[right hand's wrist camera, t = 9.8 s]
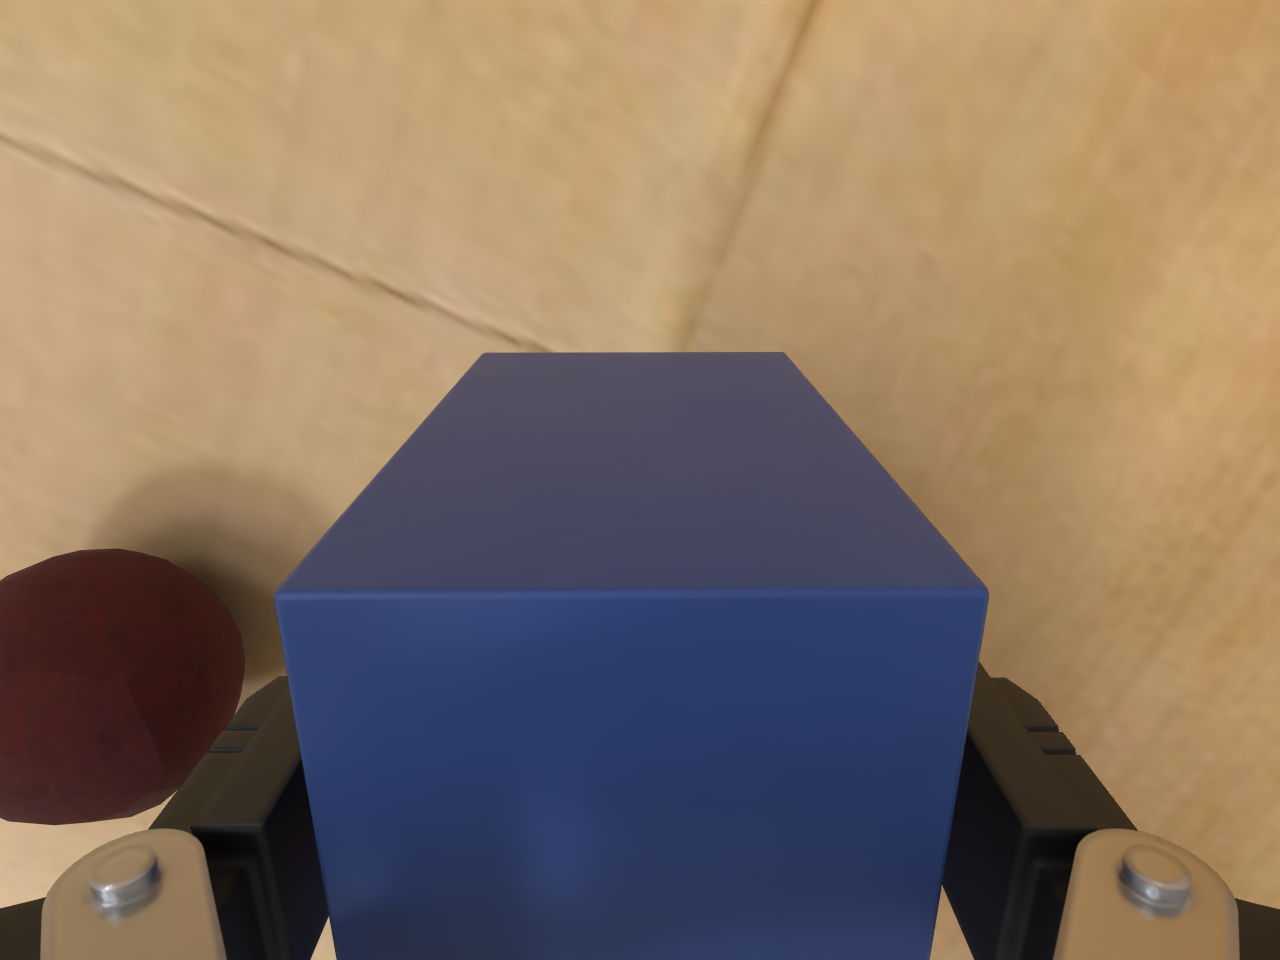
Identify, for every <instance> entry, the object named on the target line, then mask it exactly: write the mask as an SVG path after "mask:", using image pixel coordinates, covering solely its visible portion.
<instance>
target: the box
mask: <svg viewBox="0 0 1280 960" xmlns="http://www.w3.org/2000/svg"><path fill="white" fill-rule="evenodd" d="M988 600H989V593H988V589H987V587H986V586H985V585H984V584H983V582H982V581H981V580H980V579H979V578H978V577H977V575H976V574H975V573H974V572H973V571H972V570H971V568H970V567H969V566H968V565H967V564H966V563H965V562H964V560H963V559H962V558H961V557H960V556H959V555H958V553H957V552H956V551H955V550H954V549H953V548H952V546H951V545H950V544H949V543H948V542H947V541H946V540H945V538H944V537H943V536H942V535H941V534H940V533H939V531H938V530H937V529H936V528H935V527H934V526H933V524H932V523H931V522H930V521H929V520H928V519H927V517H926V516H925V515H924V514H923V513H922V512H921V511H920V509H919V508H918V507H917V506H916V505H915V504H914V502H913V501H912V500H911V499H910V498H909V497H908V495H907V494H906V493H905V492H904V491H903V490H902V489H901V487H900V486H899V485H898V484H897V483H896V482H895V480H894V479H893V478H892V477H891V476H890V475H889V473H888V472H887V471H886V470H885V469H884V468H883V466H882V465H881V464H880V463H879V462H878V461H877V460H876V458H875V457H874V456H873V455H872V454H871V453H870V451H869V450H868V449H867V448H866V447H865V446H864V444H863V443H862V442H861V441H860V440H859V439H858V437H857V436H856V435H855V434H854V433H853V432H852V431H851V429H850V428H849V427H848V426H847V425H846V424H845V422H844V421H843V420H842V419H841V418H840V417H839V415H838V414H837V413H836V412H835V411H834V410H833V409H832V407H831V406H830V405H829V404H828V403H827V402H826V400H825V399H824V398H823V397H822V396H821V395H820V393H819V392H818V391H817V390H816V389H815V388H814V386H813V385H812V384H811V383H810V382H809V381H808V380H807V378H806V377H805V376H804V375H803V374H802V373H801V371H800V370H799V369H798V368H797V367H796V366H795V364H794V363H793V362H792V361H791V360H790V359H789V358H788V356H787V355H786V354H785V353H783V352H666V353H484V354H482V355H481V356H480V357H479V358H478V360H477V361H476V362H475V363H474V364H473V365H472V366H471V368H470V369H469V370H468V371H467V372H466V373H465V374H464V376H463V377H462V378H461V379H460V380H459V381H458V382H457V384H456V385H455V386H454V387H453V388H452V389H451V390H450V392H449V393H448V394H447V395H446V396H445V397H444V398H443V400H442V401H441V402H440V403H439V404H438V405H437V406H436V408H435V409H434V410H433V411H432V412H431V413H430V414H429V416H428V417H427V418H426V419H425V420H424V421H423V422H422V424H421V425H420V426H419V427H418V428H417V429H416V431H415V432H414V433H413V434H412V435H411V436H410V437H409V439H408V440H407V441H406V442H405V443H404V444H403V445H402V447H401V448H400V449H399V450H398V451H397V452H396V453H395V455H394V456H393V457H392V458H391V459H390V460H389V461H388V463H387V464H386V465H385V466H384V467H383V468H382V469H381V471H380V472H379V473H378V474H377V475H376V476H375V477H374V479H373V480H372V481H371V482H370V483H369V484H368V485H367V487H366V488H365V489H364V490H363V491H362V492H361V493H360V495H359V496H358V497H357V498H356V499H355V500H354V501H353V503H352V504H351V505H350V506H349V507H348V508H347V509H346V511H345V512H344V513H343V514H342V515H341V516H340V518H339V519H338V520H337V521H336V522H335V523H334V524H333V526H332V527H331V528H330V529H329V530H328V531H327V532H326V534H325V535H324V536H323V537H322V538H321V539H320V540H319V542H318V543H317V544H316V545H315V546H314V547H313V548H312V550H311V551H310V552H309V553H308V554H307V555H306V556H305V558H304V559H303V560H302V561H301V562H300V563H299V564H298V566H297V567H296V568H295V569H294V570H293V571H292V572H291V574H290V575H289V576H288V577H287V578H286V579H285V580H284V582H283V583H282V584H281V585H280V586H279V587H278V588H277V590H276V592H275V596H274V601H275V607H276V613H277V619H278V624H279V630H280V636H281V642H282V647H283V653H284V659H285V665H286V670H287V676H288V682H289V688H290V694H291V699H292V705H293V711H294V717H295V722H296V728H297V734H298V740H299V745H300V751H301V757H302V763H303V768H304V774H305V780H306V786H307V791H308V797H309V803H310V809H311V814H312V820H313V826H314V832H315V838H316V843H317V849H318V855H319V861H320V866H321V872H322V878H323V884H324V889H325V895H326V901H327V907H328V912H329V918H330V924H331V930H332V935H333V941H334V947H335V953H336V959H337V960H930V954H931V948H932V942H933V935H934V929H935V923H936V917H937V911H938V905H939V899H940V893H941V887H942V881H943V874H944V868H945V862H946V856H947V850H948V844H949V838H950V832H951V826H952V820H953V813H954V807H955V801H956V795H957V789H958V783H959V777H960V771H961V765H962V759H963V752H964V746H965V740H966V734H967V728H968V722H969V716H970V710H971V704H972V698H973V691H974V685H975V679H976V673H977V667H978V661H979V655H980V649H981V643H982V637H983V630H984V624H985V618H986V612H987V606H988Z"/></svg>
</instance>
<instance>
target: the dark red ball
mask: <svg viewBox="0 0 1280 960" xmlns="http://www.w3.org/2000/svg"><path fill="white" fill-rule="evenodd" d="M244 670H245V656H244V650H243V645H242V640H241V634H240V633H239V631H238V629H237V627H236V625H235V624H234V622H233V620H232V618H231V617H230V615H229V613H228V611H227V610H226V608H225V606H224V604H223V603H222V602H221V601H220V600H219V599H218V597H217V596H216V595H215V594H214V593H213V592H212V591H211V590H210V589H209V588H208V587H206V586H205V585H204V584H203V583H201V582H200V581H199V580H198V579H196V578H195V577H193V576H192V575H190V574H189V573H187V572H186V571H184V570H182V569H181V568H179V567H177V566H176V565H174V564H172V563H171V562H169V561H167V560H166V559H162V558H158V557H155V556H151V555H147V554H144V553H140V552H134V551H128V550H122V549H99V550H80V551H76V552H71V553H67V554H63V555H59V556H55V557H52V558H49V559H47V560H44V561H42V562H39V563H37V564H35V565H32V566H30V567H27V568H25V569H23V570H20V571H18V572H15V573H13V574H11V575H8V576H6V577H5V578H3V579H2V580H1V581H0V818H2V819H4V820H7V821H11V822H23V823H35V824H47V825H62V824H74V823H86V822H96V821H103V820H111V819H118V818H126V817H132V816H134V815H136V814H139V813H141V812H143V811H146V810H148V809H150V808H153V807H155V806H157V805H160V804H161V803H163V802H164V801H165V800H166V799H167V798H169V797H170V796H171V795H172V794H173V793H175V792H176V791H177V790H178V789H179V788H180V787H181V785H182V784H183V783H184V781H185V780H186V779H187V777H188V776H189V775H190V773H191V772H192V771H193V769H194V768H195V767H196V765H197V764H198V763H199V761H200V760H201V759H202V757H203V756H204V755H205V754H206V753H210V747H211V746H212V744H213V743H214V742H215V740H216V739H217V738H218V736H219V735H220V734H221V732H222V731H223V730H227V724H228V723H229V722H230V720H231V719H232V718H233V717H234V714H235V711H236V708H237V705H238V702H239V699H240V695H241V689H242V684H243V678H244Z"/></svg>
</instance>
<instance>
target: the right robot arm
mask: <svg viewBox="0 0 1280 960" xmlns="http://www.w3.org/2000/svg"><path fill="white" fill-rule="evenodd" d="M942 885H943V888H944V890H945V892H946V895H947V897H948V899H949V902H950V904H951V906H952V909H953V911H954V913H955V916H956V918H957V920H958V923H959V925H960V927H961V930H962V932H963V934H964V937H965V939H966V941H967V944H968V946H969V948H970V951H971V953H972V955H973V958H974V960H1280V909H1275V908H1271V907H1267V906H1263V905H1259V904H1255V903H1251V902H1247V901H1244V900H1240V899H1236V898H1234V896H1233V894H1232V892H1231V891H1230V889H1229V888H1228V886H1227V884H1226V883H1225V882H1224V881H1223V880H1222V879H1221V877H1220V876H1219V875H1218V874H1217V873H1216V872H1215V871H1214V870H1213V869H1212V868H1211V867H1209V866H1208V865H1207V864H1206V863H1205V862H1203V861H1202V860H1201V859H1199V858H1198V857H1197V856H1195V855H1193V854H1192V853H1190V852H1189V851H1187V850H1185V849H1184V848H1182V847H1180V846H1178V845H1176V844H1174V843H1172V842H1170V841H1167V840H1165V839H1162V838H1160V837H1157V836H1154V835H1151V834H1148V833H1144V832H1140V831H1138V830H1137V829H1136V828H1135V826H1134V825H1133V824H1132V822H1131V821H1130V820H1129V818H1128V817H1127V816H1126V814H1125V813H1124V812H1123V811H1122V809H1121V808H1120V807H1119V805H1118V804H1117V803H1116V801H1115V800H1114V799H1113V797H1112V796H1111V795H1110V794H1109V792H1108V791H1107V790H1106V788H1105V787H1104V786H1103V784H1102V783H1101V782H1100V780H1099V779H1098V778H1097V777H1096V775H1095V774H1094V773H1093V771H1092V770H1091V769H1090V767H1089V766H1088V765H1087V763H1086V762H1085V761H1084V760H1083V758H1082V757H1081V756H1080V755H1076V752H1075V748H1074V746H1073V745H1072V744H1071V743H1070V741H1069V740H1068V739H1067V737H1066V736H1065V735H1064V733H1063V732H1059V729H1058V726H1057V724H1056V723H1055V722H1054V720H1053V719H1052V718H1051V716H1050V715H1049V714H1048V712H1047V711H1046V710H1045V709H1044V707H1043V706H1042V705H1041V703H1040V702H1039V701H1038V700H1037V699H1036V698H1034V697H1033V696H1031V695H1030V694H1028V693H1027V692H1026V691H1024V690H1023V689H1021V688H1020V687H1018V686H1017V685H1015V684H1014V683H1013V682H1011V681H1010V680H1008V679H1007V678H990V676H989V675H988V673H987V672H986V671H985V669H984V668H983V666H982V665H981V663H980V662H979V661H978V667H977V673H976V679H975V685H974V691H973V698H972V704H971V710H970V716H969V722H968V728H967V734H966V740H965V746H964V752H963V759H962V765H961V771H960V777H959V783H958V789H957V795H956V801H955V807H954V813H953V820H952V826H951V832H950V838H949V844H948V850H947V856H946V862H945V868H944V874H943V881H942ZM328 917H329V912H328V907H327V901H326V895H325V889H324V884H323V878H322V872H321V866H320V861H319V855H318V849H317V843H316V838H315V832H314V826H313V820H312V814H311V809H310V803H309V797H308V791H307V786H306V780H305V774H304V768H303V763H302V757H301V751H300V745H299V740H298V734H297V728H296V722H295V717H294V711H293V705H292V699H291V694H290V688H289V682H288V676H279V677H277V678H276V679H275V680H273V681H272V682H270V683H269V684H267V685H266V686H265V687H263V688H262V689H260V690H259V691H257V692H256V693H255V694H253V695H252V696H250V697H249V698H247V699H246V701H245V702H244V703H243V705H242V706H241V707H240V709H239V710H238V711H237V713H236V714H235V715H234V717H233V718H232V719H231V720H230V722H229V723H228V724H227V730H223V731H222V732H221V734H220V735H219V736H218V738H217V739H216V740H215V742H214V743H213V744H212V746H211V747H210V753H206V754H205V755H204V756H203V757H202V759H201V760H200V761H199V763H198V764H197V765H196V767H195V768H194V769H193V771H192V772H191V773H190V775H189V776H188V777H187V779H186V780H185V781H184V783H183V784H182V785H181V787H180V788H179V789H178V790H177V792H176V793H175V794H174V796H173V797H172V798H171V800H170V801H169V802H168V804H167V805H166V806H165V808H164V809H163V810H162V812H161V813H160V814H159V816H158V817H157V818H156V820H155V821H154V822H153V824H152V825H151V826H150V827H149V829H148V830H145V831H140V832H136V833H132V834H129V835H126V836H123V837H120V838H118V839H115V840H113V841H110V842H108V843H106V844H104V845H102V846H100V847H98V848H96V849H95V850H93V851H91V852H90V853H88V854H87V855H85V856H83V857H82V858H81V859H79V860H78V861H77V862H75V863H74V864H73V865H72V866H71V867H69V868H68V869H67V870H66V871H65V872H64V873H63V874H62V875H61V876H60V877H59V879H58V880H57V881H56V882H55V883H54V884H53V886H52V888H51V889H50V891H49V892H48V894H47V896H46V897H45V898H41V899H38V900H34V901H29V902H25V903H21V904H17V905H13V906H9V907H4V908H0V960H310V959H311V957H312V954H313V952H314V950H315V947H316V945H317V943H318V940H319V938H320V936H321V933H322V931H323V928H324V926H325V924H326V921H327V919H328Z"/></svg>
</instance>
